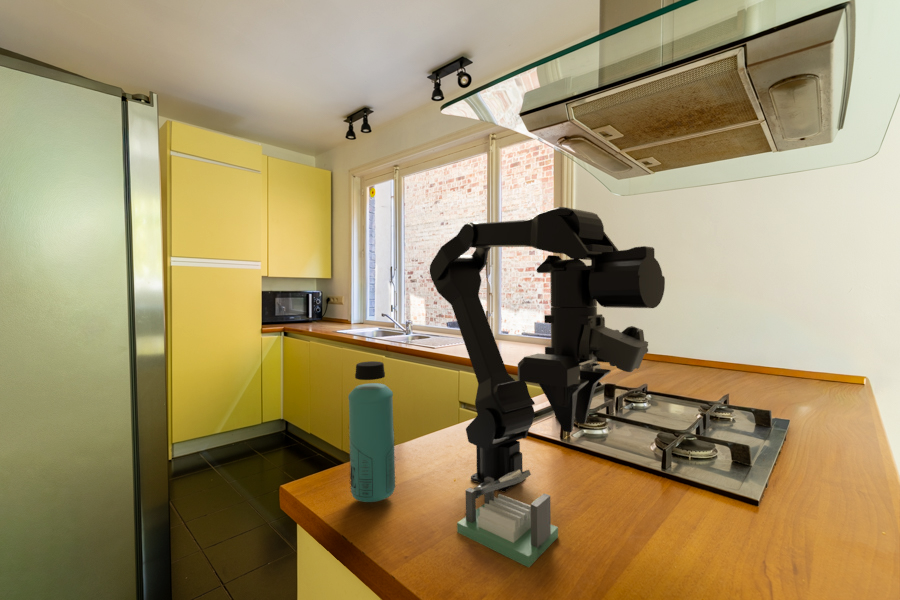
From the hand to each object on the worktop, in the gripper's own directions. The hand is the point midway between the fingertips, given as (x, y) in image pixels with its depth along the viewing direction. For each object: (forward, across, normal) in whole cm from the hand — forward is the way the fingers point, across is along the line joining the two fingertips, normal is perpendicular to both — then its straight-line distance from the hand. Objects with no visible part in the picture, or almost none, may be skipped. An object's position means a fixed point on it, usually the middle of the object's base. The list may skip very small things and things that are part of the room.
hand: (574, 427), depth 52 cm
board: (+12, -8, +5) cm, 16 cm away
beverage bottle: (+12, -14, +24) cm, 30 cm away
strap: (+7, -8, +6) cm, 12 cm away
